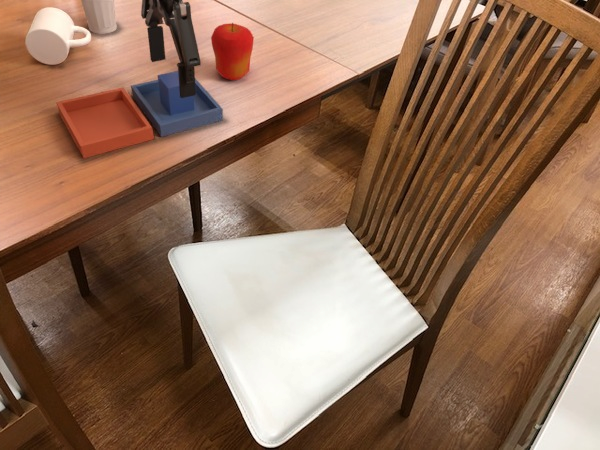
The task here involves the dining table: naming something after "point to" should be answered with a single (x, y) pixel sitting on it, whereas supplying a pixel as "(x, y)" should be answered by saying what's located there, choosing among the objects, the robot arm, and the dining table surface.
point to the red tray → (104, 122)
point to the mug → (53, 36)
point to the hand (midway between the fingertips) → (172, 77)
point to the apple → (232, 50)
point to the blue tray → (170, 124)
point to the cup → (100, 15)
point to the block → (173, 94)
